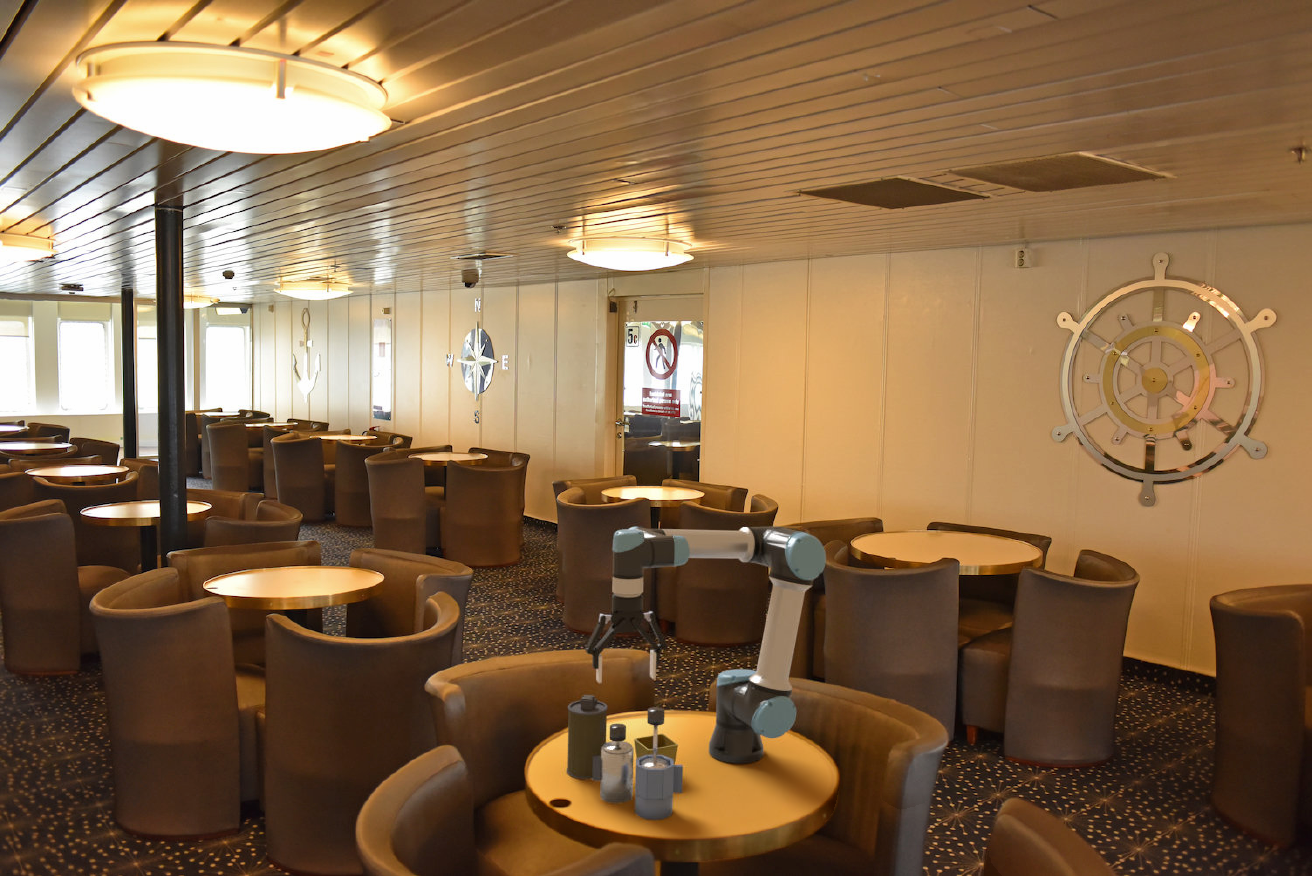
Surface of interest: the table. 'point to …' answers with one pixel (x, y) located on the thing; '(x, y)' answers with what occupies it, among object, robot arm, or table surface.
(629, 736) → the table surface
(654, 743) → the plunger
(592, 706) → the canister
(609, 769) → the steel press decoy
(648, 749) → the flower pot
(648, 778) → the blue mug
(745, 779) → the table surface
